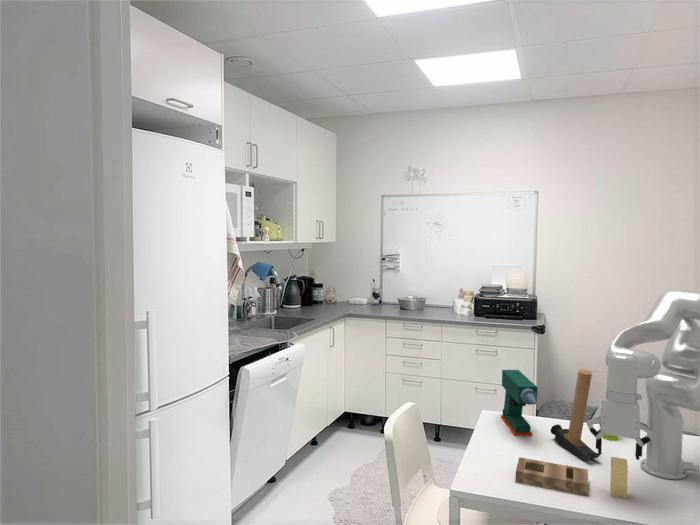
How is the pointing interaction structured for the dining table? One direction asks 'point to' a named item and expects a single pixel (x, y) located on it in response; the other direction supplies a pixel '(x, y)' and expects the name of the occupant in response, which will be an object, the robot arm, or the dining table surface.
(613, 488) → the square bit
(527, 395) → the power tool
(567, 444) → the hammer
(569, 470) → the block
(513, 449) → the dining table surface
